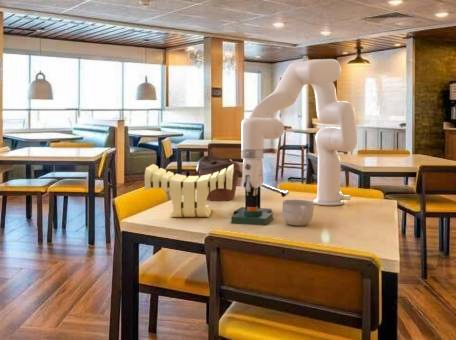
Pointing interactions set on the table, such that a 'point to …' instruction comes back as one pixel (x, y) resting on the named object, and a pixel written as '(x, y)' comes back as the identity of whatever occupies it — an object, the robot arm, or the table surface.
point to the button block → (252, 217)
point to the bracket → (264, 210)
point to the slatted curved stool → (188, 189)
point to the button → (252, 208)
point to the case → (217, 164)
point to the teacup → (298, 212)
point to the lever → (276, 190)
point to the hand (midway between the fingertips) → (252, 206)
